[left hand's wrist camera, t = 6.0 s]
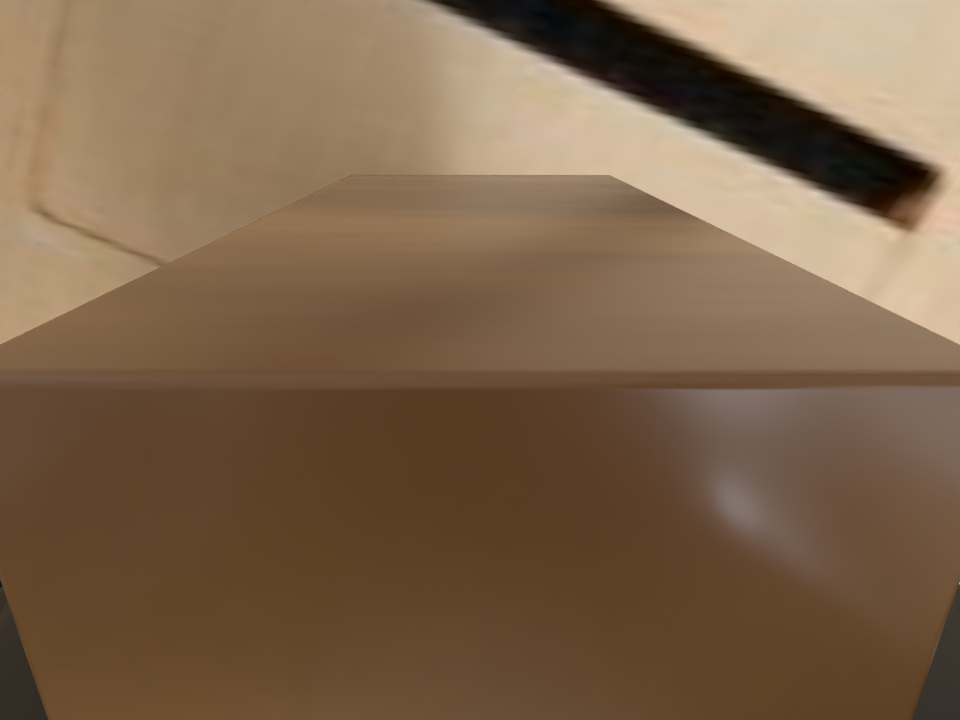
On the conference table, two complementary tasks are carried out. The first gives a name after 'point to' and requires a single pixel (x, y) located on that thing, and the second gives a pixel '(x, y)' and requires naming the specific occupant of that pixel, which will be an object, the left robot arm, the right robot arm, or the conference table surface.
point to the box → (480, 472)
